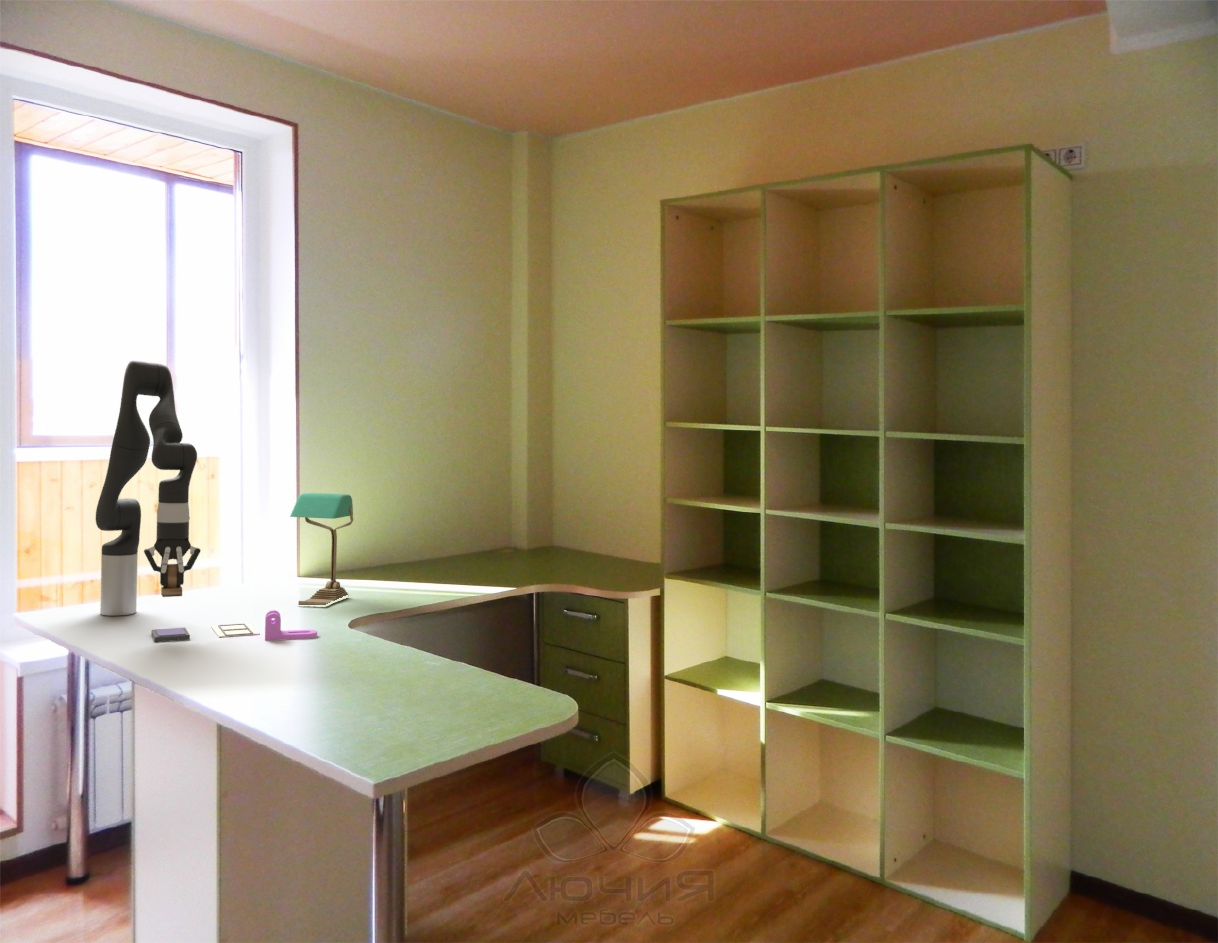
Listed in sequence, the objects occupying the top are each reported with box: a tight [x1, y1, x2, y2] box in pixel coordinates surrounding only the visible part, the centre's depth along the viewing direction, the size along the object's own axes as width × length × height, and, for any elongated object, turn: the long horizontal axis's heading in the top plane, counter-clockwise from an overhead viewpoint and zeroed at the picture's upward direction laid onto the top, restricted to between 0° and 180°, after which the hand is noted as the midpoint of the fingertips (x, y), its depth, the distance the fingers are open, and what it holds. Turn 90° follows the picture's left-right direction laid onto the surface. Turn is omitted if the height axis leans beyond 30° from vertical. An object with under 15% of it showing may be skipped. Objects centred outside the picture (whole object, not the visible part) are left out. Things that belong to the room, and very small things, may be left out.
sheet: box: [210, 623, 260, 638], centre depth 247 cm, size 14×10×1 cm
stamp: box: [160, 563, 183, 598], centre depth 236 cm, size 4×4×8 cm
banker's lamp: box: [289, 492, 354, 605], centre depth 293 cm, size 16×21×35 cm
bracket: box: [264, 609, 318, 641], centre depth 241 cm, size 13×6×7 cm, turn 111°
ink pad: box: [151, 627, 191, 643], centre depth 237 cm, size 10×8×1 cm
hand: (171, 586), depth 236 cm, fingers closed on stamp, 2 cm apart
